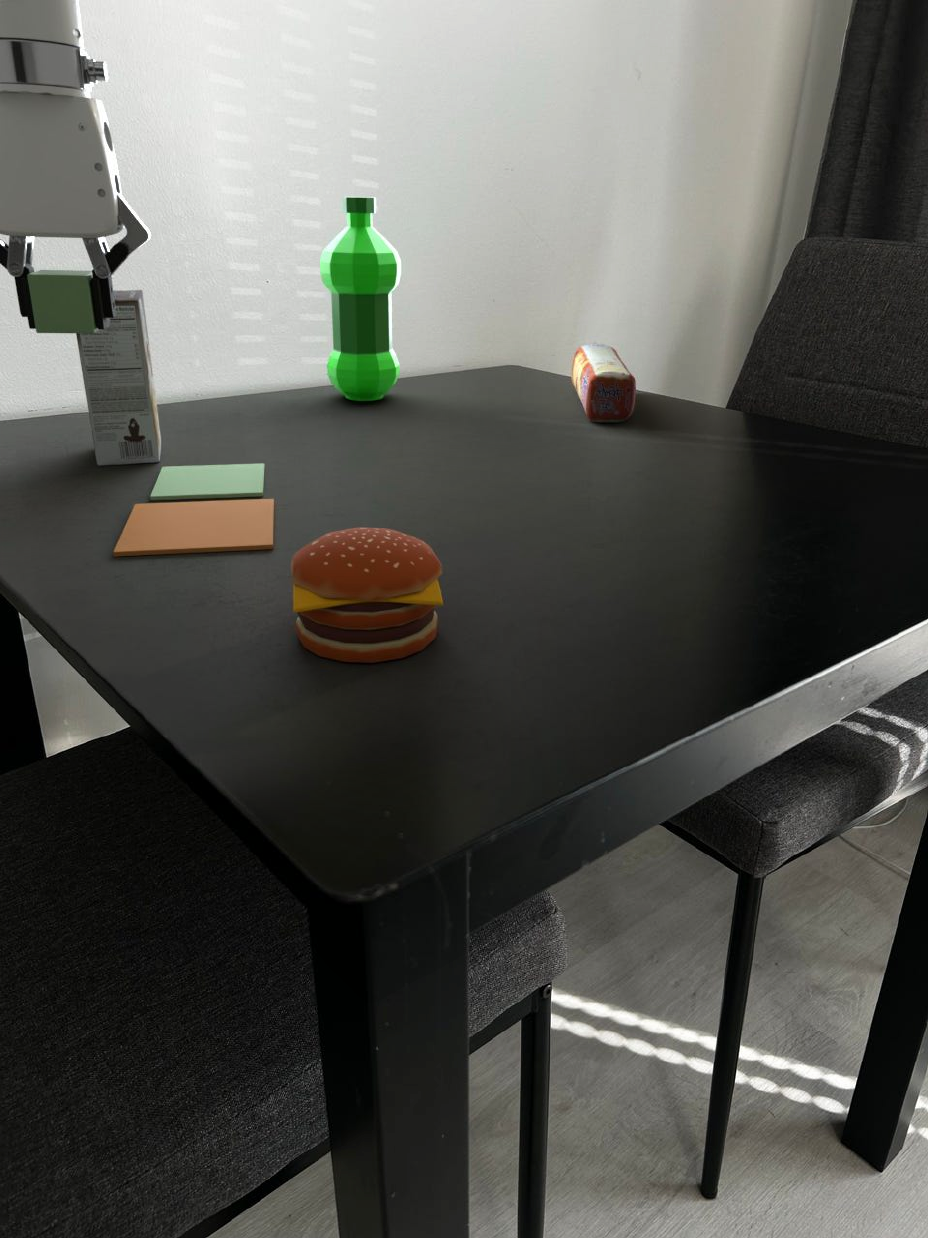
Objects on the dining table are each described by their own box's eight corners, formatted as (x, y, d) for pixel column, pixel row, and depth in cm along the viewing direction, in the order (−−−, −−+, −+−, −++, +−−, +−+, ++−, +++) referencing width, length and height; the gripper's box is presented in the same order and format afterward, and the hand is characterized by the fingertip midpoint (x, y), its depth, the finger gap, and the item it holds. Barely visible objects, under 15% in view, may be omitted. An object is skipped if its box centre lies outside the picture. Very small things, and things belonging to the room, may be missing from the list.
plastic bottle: (417, 396, 126) (416, 198, 116) (361, 408, 119) (354, 197, 108) (367, 386, 132) (362, 196, 122) (311, 396, 125) (300, 195, 114)
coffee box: (101, 444, 100) (77, 289, 93) (162, 441, 102) (143, 289, 95) (95, 466, 92) (69, 299, 85) (162, 463, 94) (141, 298, 87)
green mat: (150, 500, 82) (149, 496, 82) (162, 470, 91) (162, 466, 91) (263, 496, 84) (262, 492, 84) (264, 467, 93) (264, 463, 93)
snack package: (635, 424, 113) (640, 369, 110) (581, 423, 113) (585, 368, 110) (615, 391, 132) (619, 343, 130) (569, 390, 133) (572, 341, 130)
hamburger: (297, 673, 54) (289, 568, 51) (294, 607, 62) (287, 514, 59) (454, 661, 55) (455, 558, 52) (430, 598, 64) (430, 507, 61)
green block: (36, 333, 74) (26, 274, 72) (48, 325, 78) (40, 269, 76) (94, 333, 75) (86, 275, 73) (103, 326, 79) (96, 270, 77)
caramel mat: (113, 556, 70) (112, 551, 70) (135, 507, 81) (135, 503, 80) (273, 549, 72) (272, 544, 72) (273, 502, 83) (273, 498, 82)
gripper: (157, 86, 74) (180, 322, 81) (-70, 74, 71) (-24, 320, 78) (145, 76, 67) (170, 334, 75) (-107, 62, 64) (-53, 332, 72)
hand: (70, 324), depth 76 cm, fingers closed on green block, 4 cm apart
